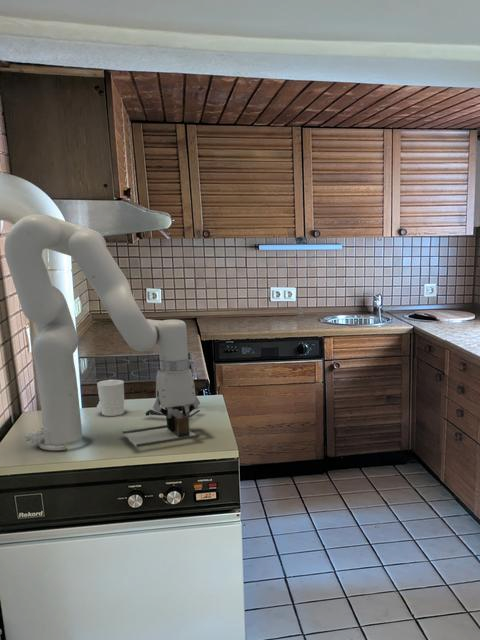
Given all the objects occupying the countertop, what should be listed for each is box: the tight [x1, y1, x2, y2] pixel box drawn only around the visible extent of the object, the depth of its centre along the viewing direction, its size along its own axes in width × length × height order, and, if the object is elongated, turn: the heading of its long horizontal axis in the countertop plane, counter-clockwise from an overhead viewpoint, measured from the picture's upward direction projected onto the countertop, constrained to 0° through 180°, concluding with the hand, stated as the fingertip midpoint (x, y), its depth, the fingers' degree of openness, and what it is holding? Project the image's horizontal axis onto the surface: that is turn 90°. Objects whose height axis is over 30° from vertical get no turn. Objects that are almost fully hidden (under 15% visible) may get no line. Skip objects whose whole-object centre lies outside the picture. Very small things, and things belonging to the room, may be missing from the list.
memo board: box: [122, 424, 200, 448], centre depth 194 cm, size 17×14×2 cm
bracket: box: [145, 409, 201, 419], centre depth 214 cm, size 14×15×3 cm
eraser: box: [168, 409, 190, 437], centre depth 196 cm, size 3×10×6 cm, turn 33°
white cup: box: [96, 379, 125, 417], centre depth 219 cm, size 8×8×10 cm
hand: (178, 429), depth 196 cm, fingers closed on eraser, 3 cm apart
